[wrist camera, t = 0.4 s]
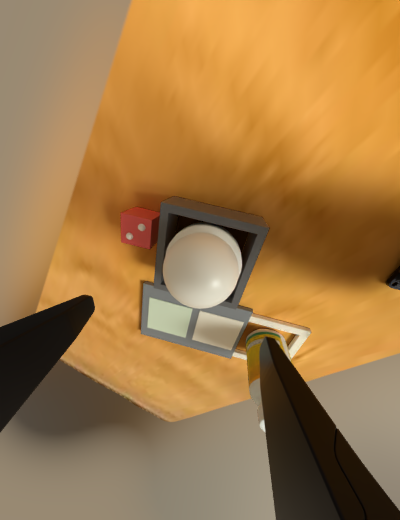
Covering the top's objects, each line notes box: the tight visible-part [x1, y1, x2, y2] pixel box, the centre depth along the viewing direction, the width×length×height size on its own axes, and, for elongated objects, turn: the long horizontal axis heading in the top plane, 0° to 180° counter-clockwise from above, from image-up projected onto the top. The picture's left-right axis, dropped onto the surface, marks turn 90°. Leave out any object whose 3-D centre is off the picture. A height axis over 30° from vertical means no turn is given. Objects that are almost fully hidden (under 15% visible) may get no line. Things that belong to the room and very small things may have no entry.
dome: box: [163, 222, 242, 309], centre depth 15 cm, size 7×7×6 cm
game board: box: [141, 281, 311, 360], centre depth 25 cm, size 22×10×1 cm, turn 78°
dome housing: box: [121, 196, 269, 310], centre depth 18 cm, size 13×9×4 cm
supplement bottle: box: [246, 329, 293, 432], centre depth 21 cm, size 5×5×10 cm
